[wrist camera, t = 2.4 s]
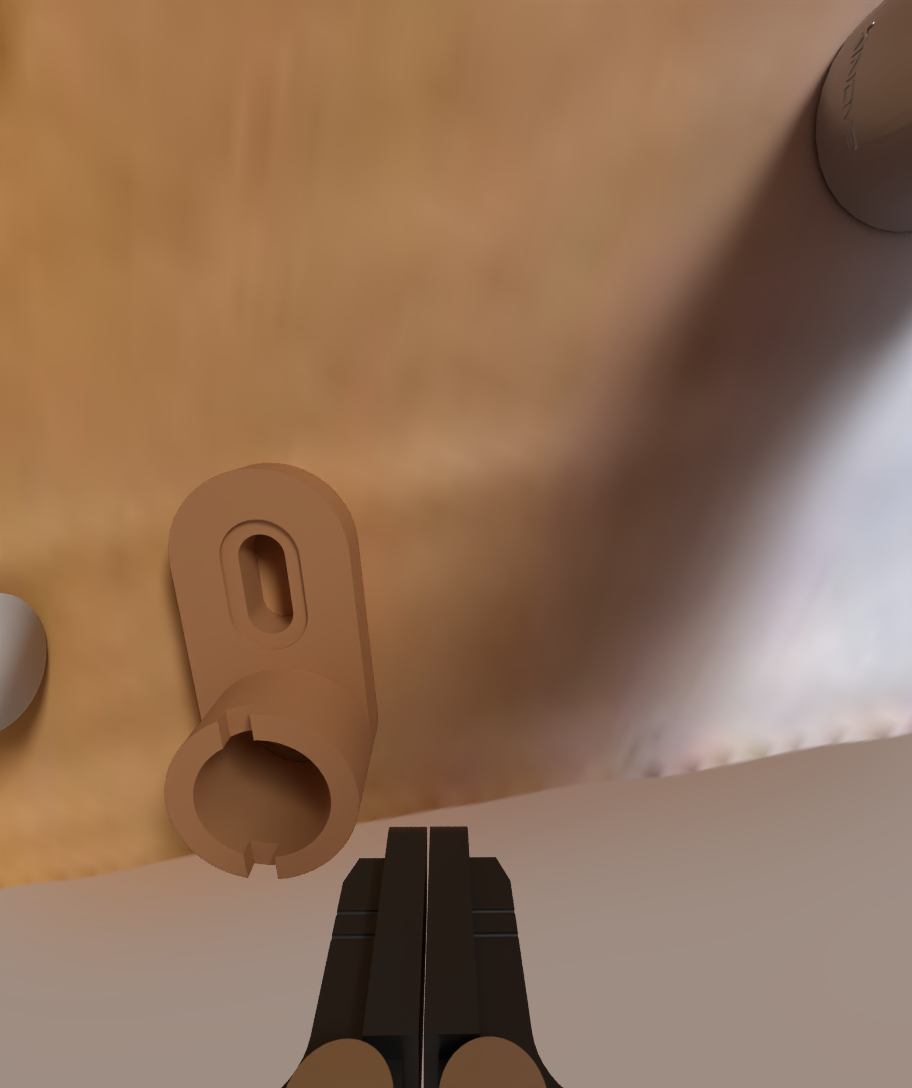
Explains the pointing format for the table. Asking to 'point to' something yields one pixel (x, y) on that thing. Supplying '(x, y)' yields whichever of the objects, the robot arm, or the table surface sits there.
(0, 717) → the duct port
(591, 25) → the table surface
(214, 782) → the bracket
